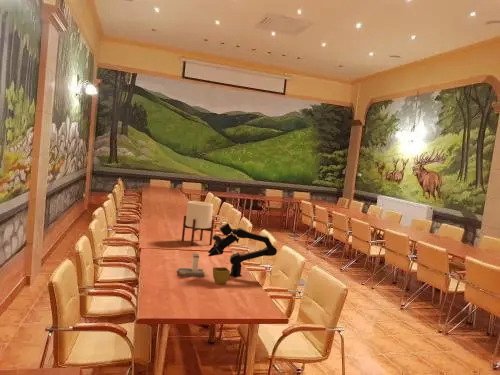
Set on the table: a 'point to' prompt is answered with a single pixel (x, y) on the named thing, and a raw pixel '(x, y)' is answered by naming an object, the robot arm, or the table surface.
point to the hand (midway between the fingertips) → (208, 254)
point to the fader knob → (195, 262)
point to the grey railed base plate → (190, 272)
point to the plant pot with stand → (198, 219)
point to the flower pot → (221, 275)
